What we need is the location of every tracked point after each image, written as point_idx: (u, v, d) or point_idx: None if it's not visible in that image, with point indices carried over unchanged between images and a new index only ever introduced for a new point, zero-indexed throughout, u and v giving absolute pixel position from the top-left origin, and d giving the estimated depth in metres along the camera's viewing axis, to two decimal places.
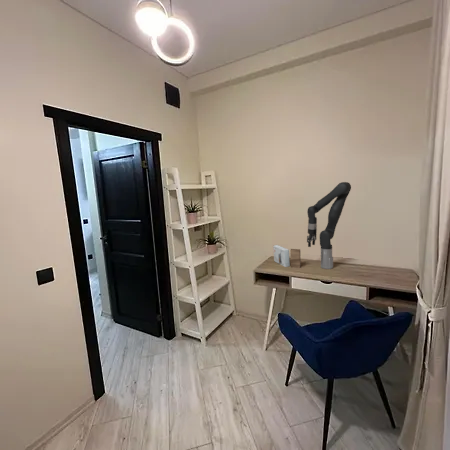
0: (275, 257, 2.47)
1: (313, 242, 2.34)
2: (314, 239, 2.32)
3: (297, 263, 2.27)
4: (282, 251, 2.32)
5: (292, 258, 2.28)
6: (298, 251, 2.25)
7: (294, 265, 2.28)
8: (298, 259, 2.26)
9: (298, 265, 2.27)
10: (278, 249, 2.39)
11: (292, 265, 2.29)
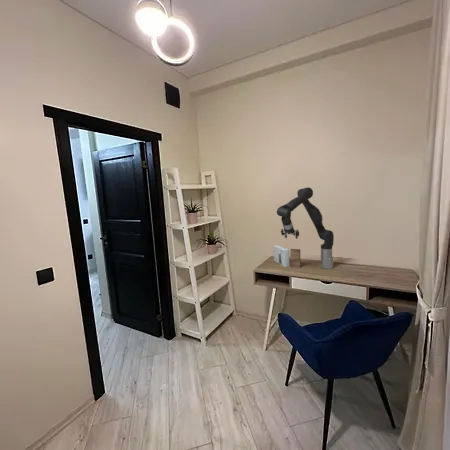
0: (275, 257, 2.47)
1: (286, 235, 2.16)
2: (286, 232, 2.14)
3: (297, 263, 2.27)
4: (282, 251, 2.32)
5: (292, 258, 2.28)
6: (298, 251, 2.25)
7: (294, 265, 2.28)
8: (298, 259, 2.26)
9: (298, 265, 2.27)
10: (278, 249, 2.39)
11: (292, 265, 2.29)
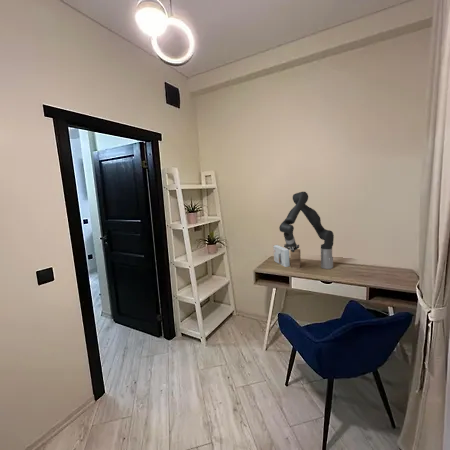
0: (275, 257, 2.47)
1: None
2: None
3: (297, 263, 2.27)
4: (282, 251, 2.32)
5: (292, 258, 2.28)
6: (298, 251, 2.25)
7: (294, 265, 2.28)
8: (298, 259, 2.26)
9: (298, 265, 2.27)
10: (278, 249, 2.39)
11: (292, 265, 2.29)
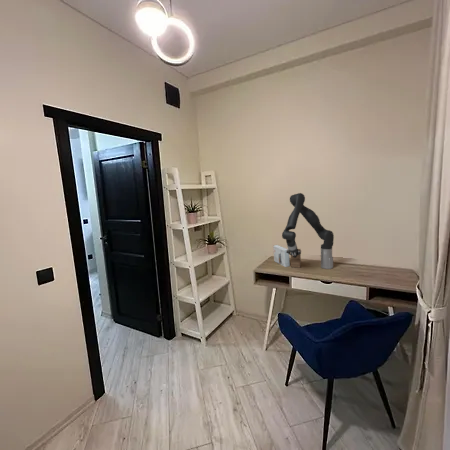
0: (275, 257, 2.47)
1: None
2: None
3: (297, 262, 2.27)
4: (282, 251, 2.32)
5: (292, 257, 2.29)
6: None
7: (294, 265, 2.28)
8: (298, 259, 2.26)
9: (298, 265, 2.27)
10: (278, 249, 2.39)
11: (292, 265, 2.29)
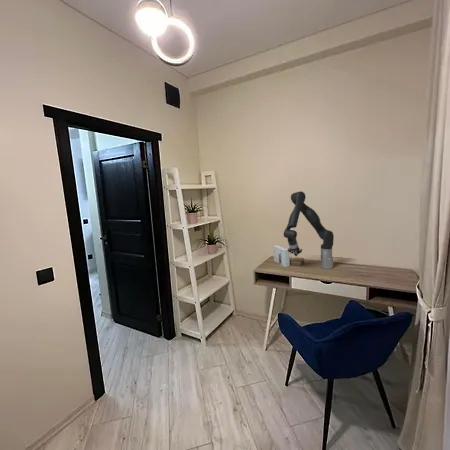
0: (275, 257, 2.47)
1: None
2: (294, 250, 2.28)
3: (299, 261, 2.34)
4: (282, 251, 2.32)
5: (295, 259, 2.40)
6: (302, 258, 2.43)
7: (295, 261, 2.34)
8: (300, 260, 2.37)
9: (299, 261, 2.32)
10: (278, 249, 2.39)
11: (293, 261, 2.34)
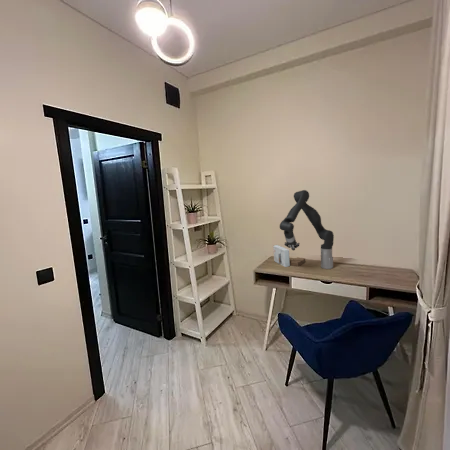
0: (275, 257, 2.47)
1: None
2: None
3: (298, 261, 2.35)
4: (282, 251, 2.32)
5: (295, 259, 2.40)
6: (304, 258, 2.42)
7: (294, 261, 2.35)
8: (300, 260, 2.37)
9: (297, 261, 2.33)
10: (278, 249, 2.39)
11: (292, 261, 2.36)
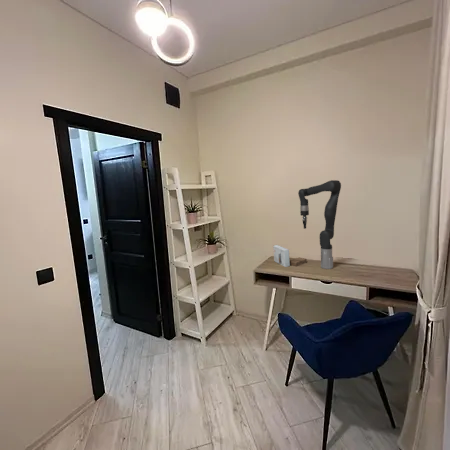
0: (275, 257, 2.47)
1: None
2: (306, 221, 2.41)
3: (297, 261, 2.35)
4: (282, 251, 2.32)
5: (295, 259, 2.41)
6: None
7: (293, 261, 2.35)
8: (300, 260, 2.36)
9: (296, 261, 2.33)
10: (278, 249, 2.39)
11: (291, 260, 2.37)
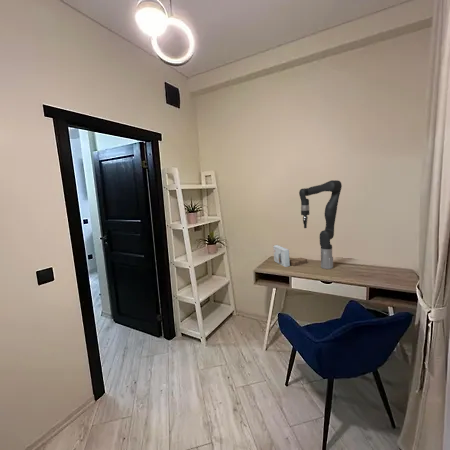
0: (275, 257, 2.47)
1: None
2: (306, 221, 2.41)
3: (296, 261, 2.35)
4: (282, 251, 2.32)
5: (296, 259, 2.41)
6: (305, 259, 2.39)
7: (292, 261, 2.36)
8: (299, 260, 2.36)
9: (295, 261, 2.33)
10: (278, 249, 2.39)
11: (290, 260, 2.38)
